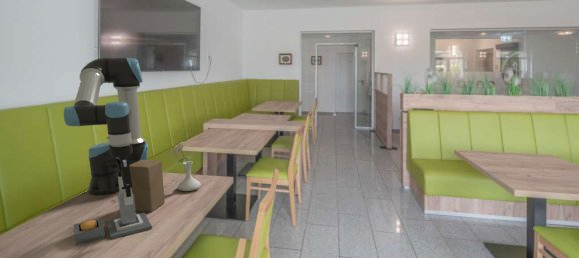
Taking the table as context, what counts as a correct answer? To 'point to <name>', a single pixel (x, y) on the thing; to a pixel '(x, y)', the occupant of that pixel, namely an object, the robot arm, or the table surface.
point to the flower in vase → (189, 181)
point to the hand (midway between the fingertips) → (126, 198)
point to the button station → (89, 232)
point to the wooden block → (147, 185)
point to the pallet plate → (128, 226)
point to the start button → (88, 225)
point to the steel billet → (126, 211)
